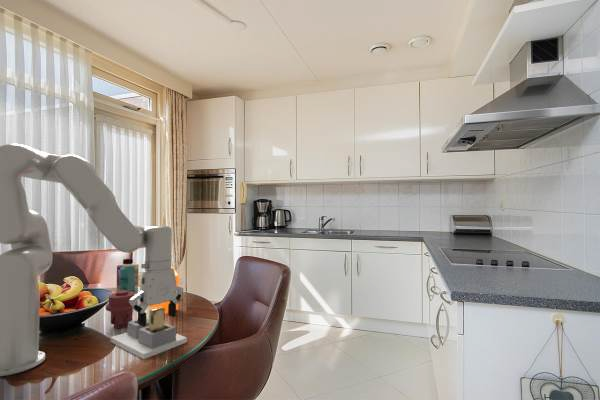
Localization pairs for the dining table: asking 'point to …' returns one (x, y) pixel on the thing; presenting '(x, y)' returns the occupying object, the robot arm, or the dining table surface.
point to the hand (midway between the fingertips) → (157, 320)
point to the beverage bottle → (127, 277)
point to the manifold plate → (148, 339)
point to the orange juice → (168, 301)
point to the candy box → (135, 275)
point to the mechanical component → (120, 308)
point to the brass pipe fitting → (156, 319)
